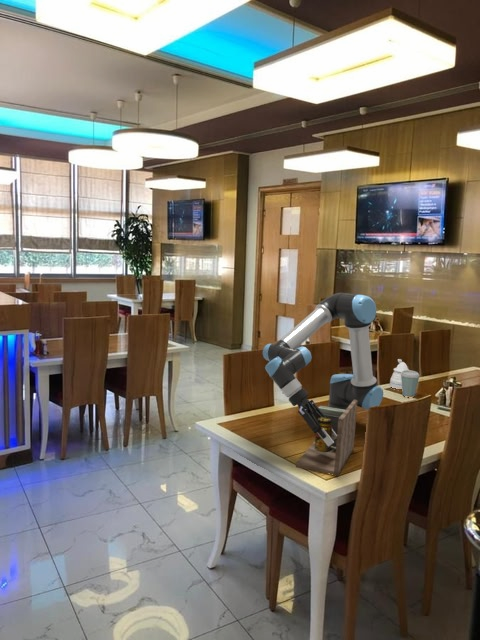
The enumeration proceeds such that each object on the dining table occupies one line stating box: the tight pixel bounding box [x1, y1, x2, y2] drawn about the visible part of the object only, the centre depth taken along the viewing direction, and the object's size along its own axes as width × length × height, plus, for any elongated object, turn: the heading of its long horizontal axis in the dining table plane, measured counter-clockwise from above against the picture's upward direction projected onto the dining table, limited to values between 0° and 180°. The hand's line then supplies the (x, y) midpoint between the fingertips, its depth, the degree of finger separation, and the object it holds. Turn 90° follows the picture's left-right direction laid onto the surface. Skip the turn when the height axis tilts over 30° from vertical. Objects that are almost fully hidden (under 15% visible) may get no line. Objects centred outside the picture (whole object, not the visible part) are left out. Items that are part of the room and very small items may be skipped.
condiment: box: [310, 417, 336, 454], centre depth 191 cm, size 7×8×12 cm
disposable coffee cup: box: [401, 369, 420, 397], centre depth 291 cm, size 11×11×15 cm
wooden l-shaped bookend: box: [295, 400, 358, 476], centre depth 195 cm, size 28×16×22 cm, turn 156°
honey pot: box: [389, 358, 409, 389], centre depth 310 cm, size 13×13×18 cm
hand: (333, 441), depth 189 cm, fingers closed on condiment, 6 cm apart
